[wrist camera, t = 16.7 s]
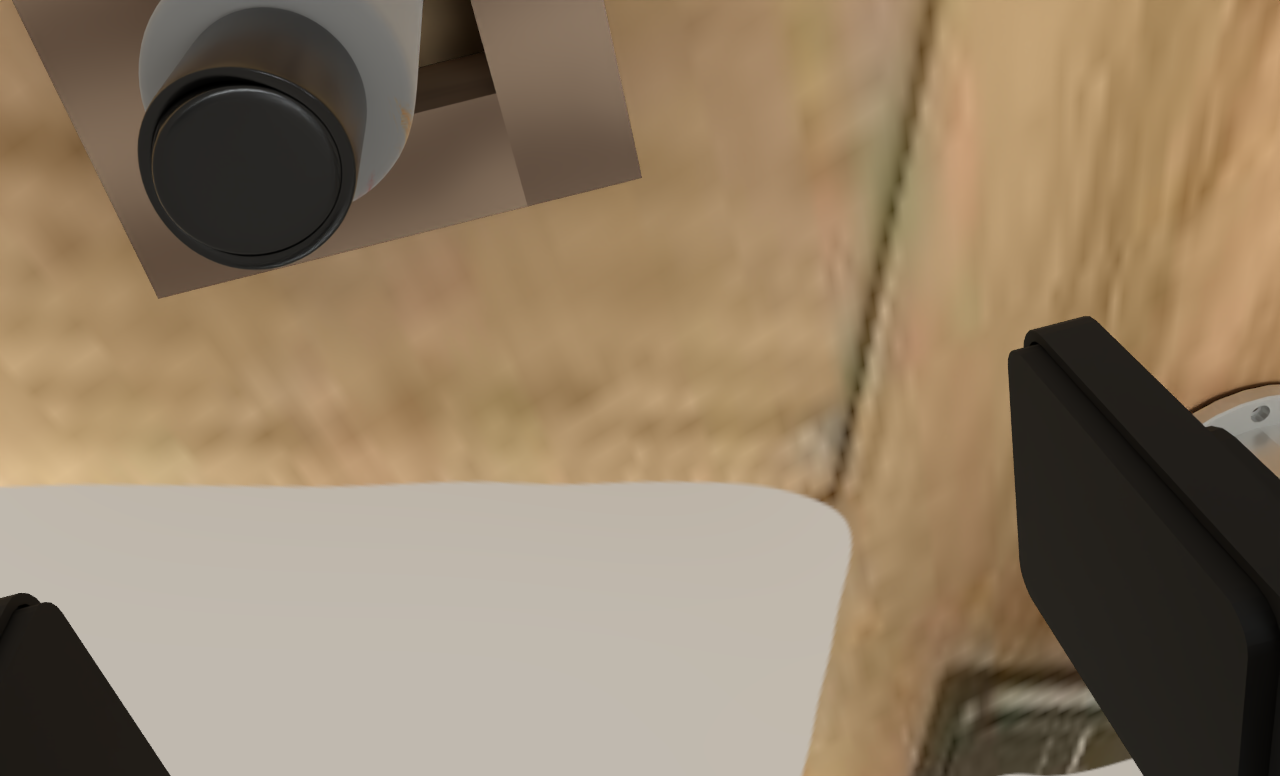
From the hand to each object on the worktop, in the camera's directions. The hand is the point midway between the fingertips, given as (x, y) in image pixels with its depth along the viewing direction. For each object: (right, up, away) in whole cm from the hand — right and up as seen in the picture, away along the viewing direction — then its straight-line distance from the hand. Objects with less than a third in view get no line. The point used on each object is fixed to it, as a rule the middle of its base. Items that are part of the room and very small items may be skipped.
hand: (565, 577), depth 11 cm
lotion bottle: (-9, +16, +26) cm, 32 cm away
